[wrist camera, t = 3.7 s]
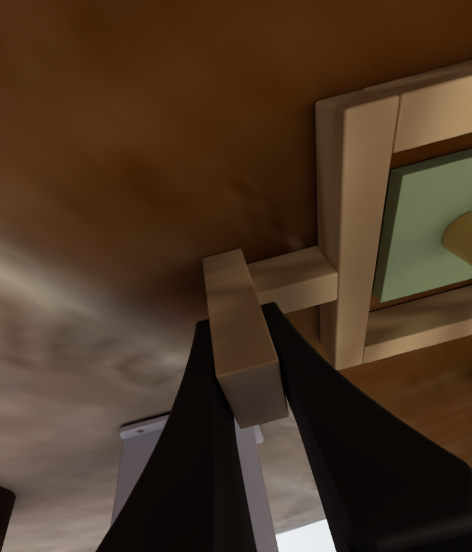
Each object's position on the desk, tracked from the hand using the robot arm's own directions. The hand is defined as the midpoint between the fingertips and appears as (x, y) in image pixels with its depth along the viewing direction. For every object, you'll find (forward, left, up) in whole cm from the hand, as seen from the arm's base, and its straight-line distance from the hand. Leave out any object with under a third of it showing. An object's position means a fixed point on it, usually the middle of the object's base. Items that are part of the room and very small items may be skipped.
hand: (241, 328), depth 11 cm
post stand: (+11, 0, -3) cm, 11 cm away
